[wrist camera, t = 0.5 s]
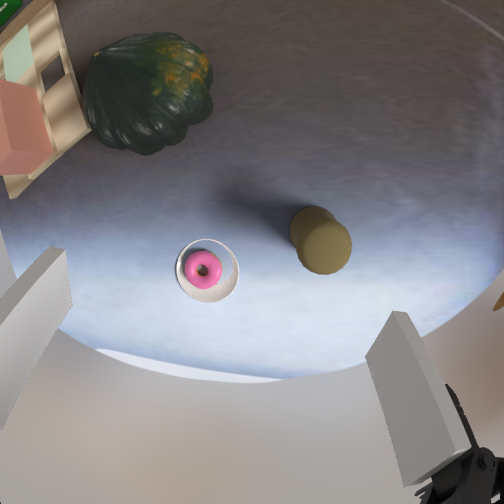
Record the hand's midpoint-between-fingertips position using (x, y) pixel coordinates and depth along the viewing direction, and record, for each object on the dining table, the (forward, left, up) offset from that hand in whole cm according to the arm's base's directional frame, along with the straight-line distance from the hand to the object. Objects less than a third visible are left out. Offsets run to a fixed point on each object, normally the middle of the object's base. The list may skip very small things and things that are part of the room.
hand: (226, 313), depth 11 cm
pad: (-21, -50, -27) cm, 60 cm away
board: (-14, -44, -27) cm, 53 cm away
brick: (-7, -39, -25) cm, 47 cm away
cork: (0, +6, -27) cm, 28 cm away
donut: (+9, -5, -28) cm, 29 cm away
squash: (-12, -16, -27) cm, 34 cm away
